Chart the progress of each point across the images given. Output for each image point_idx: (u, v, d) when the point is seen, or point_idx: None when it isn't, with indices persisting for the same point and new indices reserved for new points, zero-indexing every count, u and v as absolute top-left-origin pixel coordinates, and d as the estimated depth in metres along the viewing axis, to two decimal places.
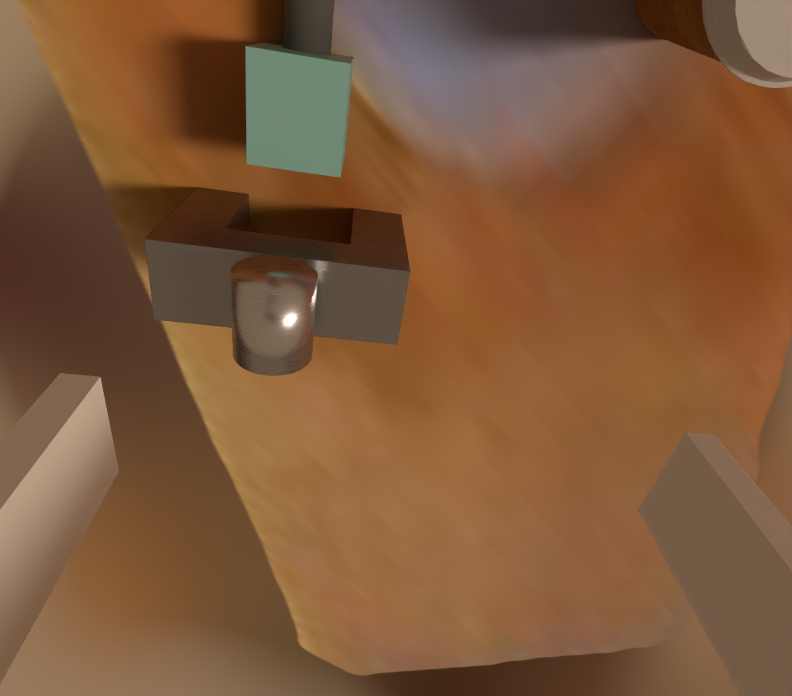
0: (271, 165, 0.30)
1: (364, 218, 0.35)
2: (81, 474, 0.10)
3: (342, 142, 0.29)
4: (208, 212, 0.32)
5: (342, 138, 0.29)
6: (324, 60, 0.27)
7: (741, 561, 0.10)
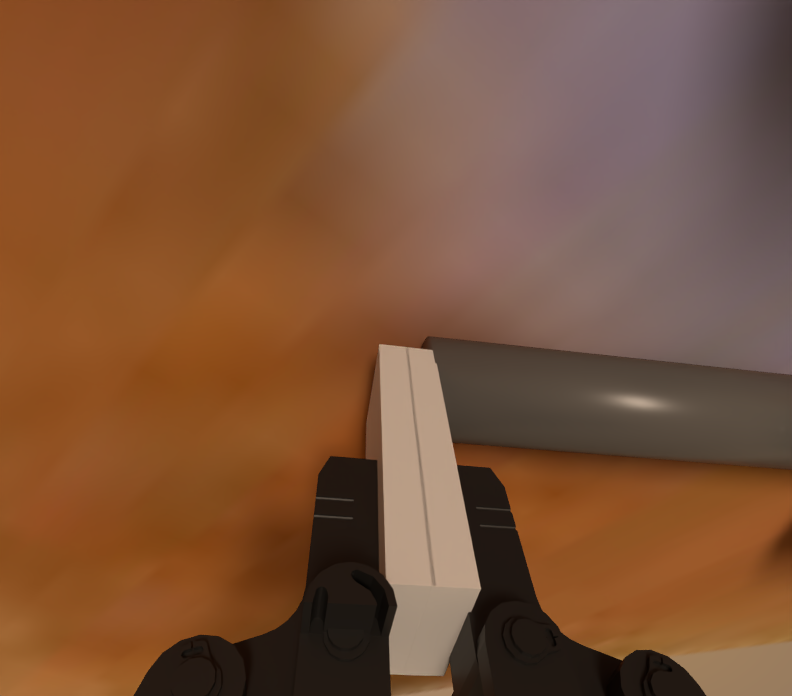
0: None
1: None
2: None
3: None
4: None
5: None
6: None
7: None
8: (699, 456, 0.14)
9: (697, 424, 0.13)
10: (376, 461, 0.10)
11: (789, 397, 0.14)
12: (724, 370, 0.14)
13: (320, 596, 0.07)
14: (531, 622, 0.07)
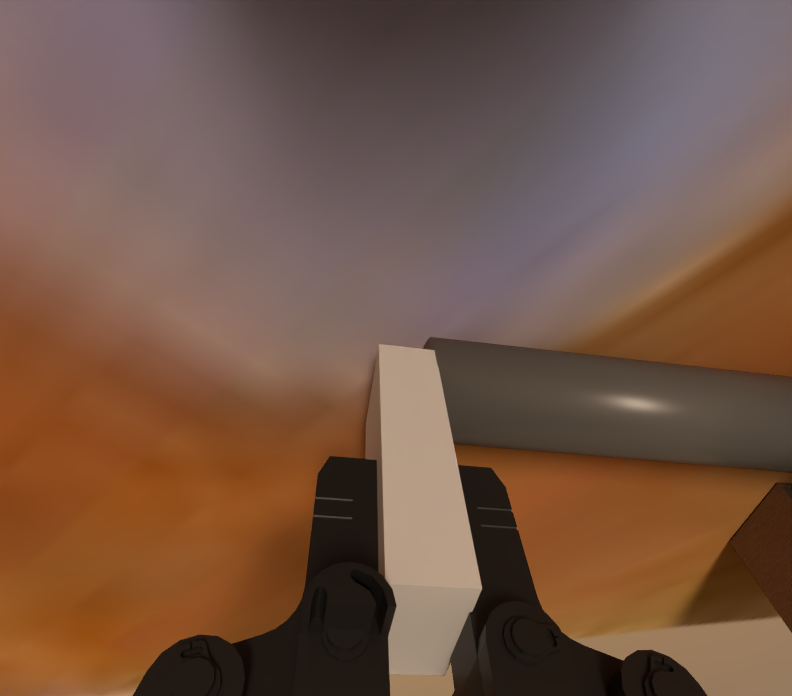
0: None
1: None
2: None
3: None
4: None
5: None
6: None
7: None
8: (702, 458, 0.14)
9: (700, 427, 0.13)
10: (376, 461, 0.10)
11: None
12: (728, 372, 0.14)
13: (319, 596, 0.07)
14: (532, 622, 0.07)
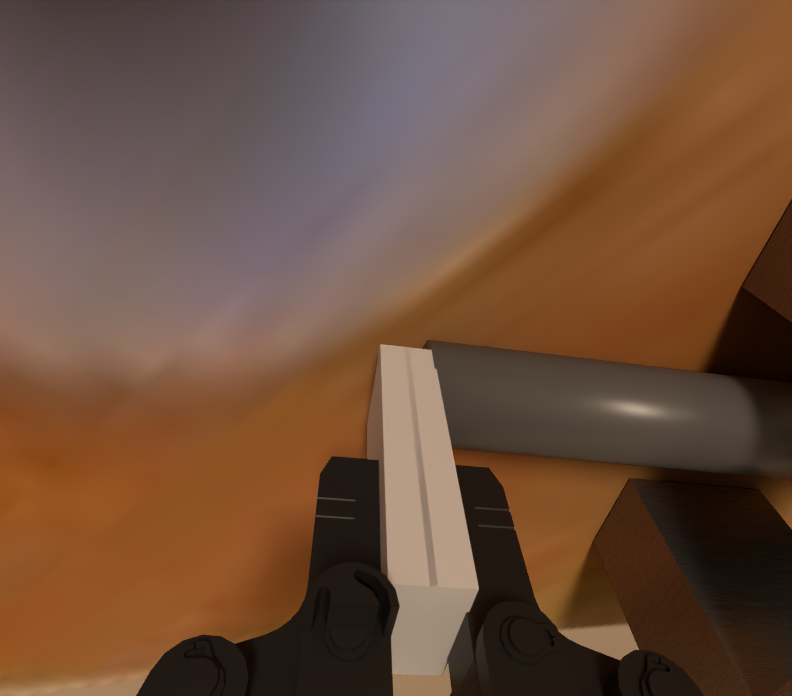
0: None
1: None
2: None
3: None
4: (677, 640, 0.15)
5: None
6: None
7: None
8: (703, 465, 0.13)
9: (701, 433, 0.13)
10: (378, 461, 0.10)
11: None
12: (730, 378, 0.14)
13: (322, 596, 0.07)
14: (529, 622, 0.07)
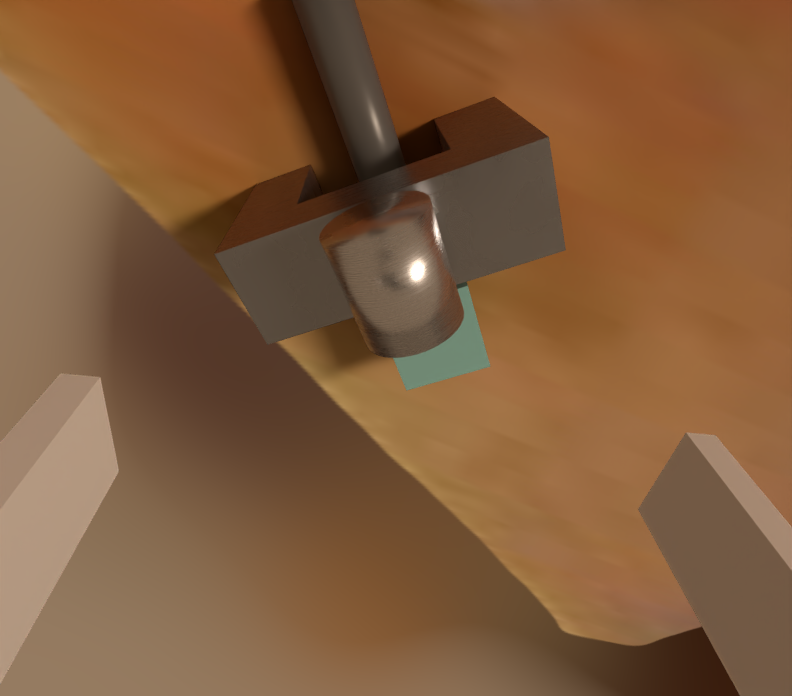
0: (427, 382, 0.32)
1: (451, 121, 0.27)
2: (81, 474, 0.10)
3: (482, 341, 0.30)
4: (273, 199, 0.26)
5: (481, 339, 0.30)
6: None
7: (741, 561, 0.10)
8: (361, 145, 0.26)
9: (376, 127, 0.26)
10: None
11: None
12: None
13: None
14: None
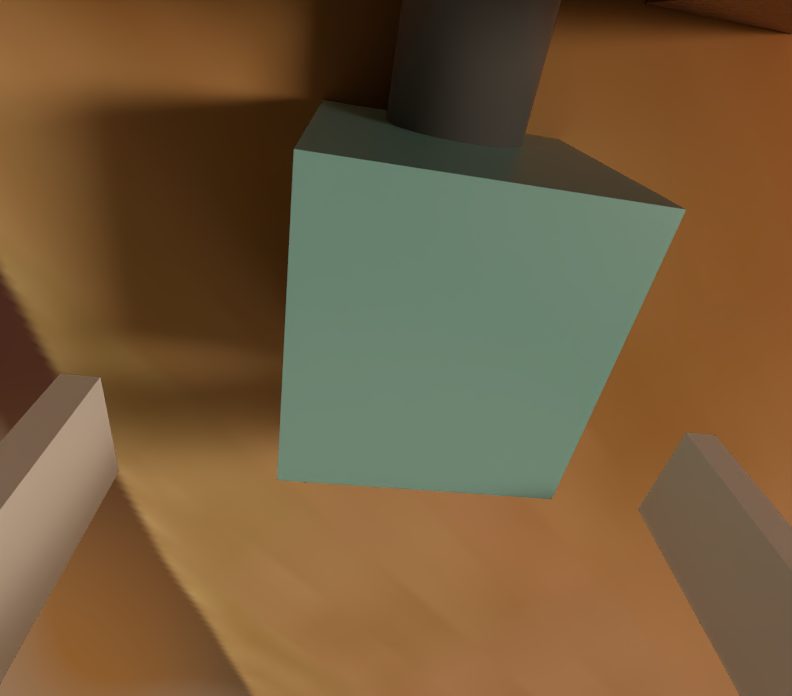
0: (353, 480, 0.10)
1: None
2: (81, 474, 0.10)
3: (582, 424, 0.09)
4: None
5: (585, 415, 0.09)
6: (592, 198, 0.07)
7: (741, 561, 0.10)
8: None
9: None
10: None
11: None
12: None
13: None
14: None
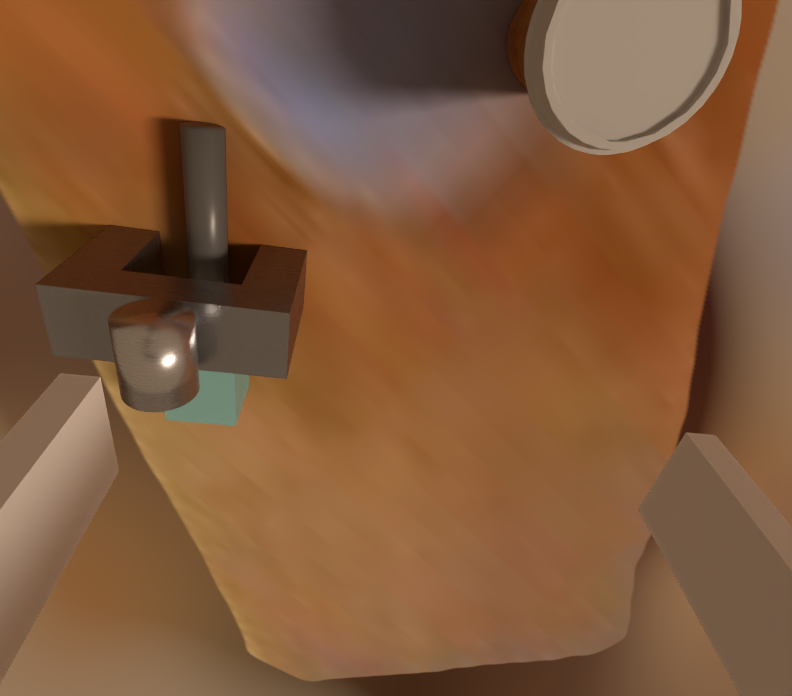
0: (184, 420, 0.41)
1: (267, 255, 0.37)
2: (81, 474, 0.10)
3: (234, 407, 0.40)
4: (110, 253, 0.34)
5: (234, 405, 0.40)
6: None
7: (741, 561, 0.10)
8: (195, 243, 0.36)
9: (210, 237, 0.36)
10: None
11: (224, 271, 0.38)
12: (227, 249, 0.38)
13: None
14: None
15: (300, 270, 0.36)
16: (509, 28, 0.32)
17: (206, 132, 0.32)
